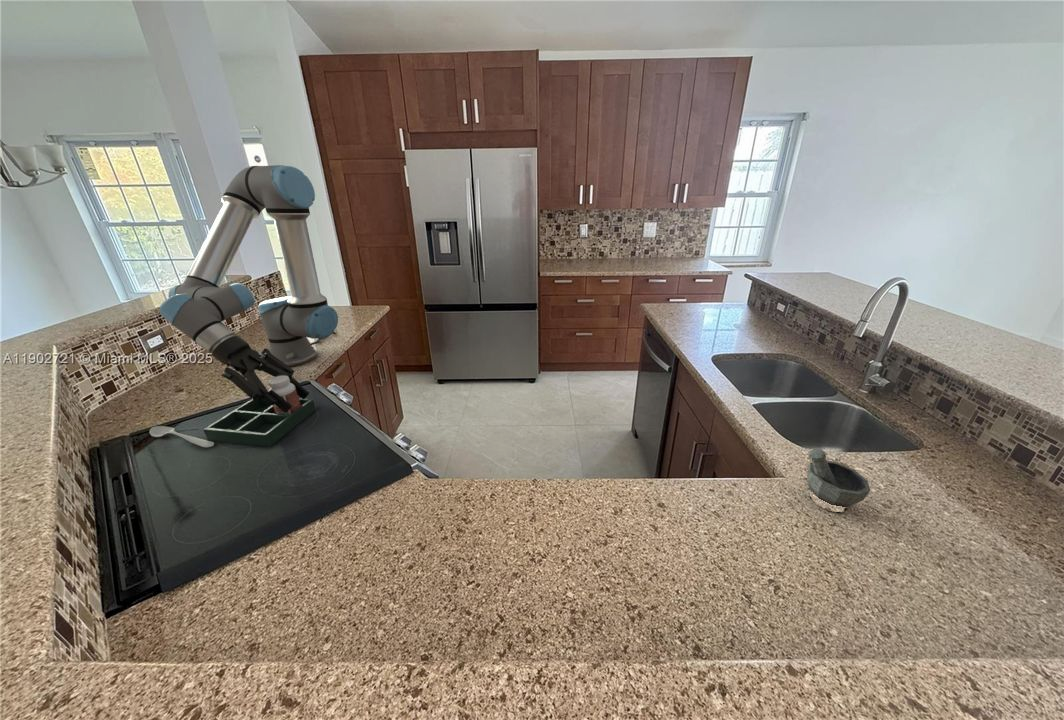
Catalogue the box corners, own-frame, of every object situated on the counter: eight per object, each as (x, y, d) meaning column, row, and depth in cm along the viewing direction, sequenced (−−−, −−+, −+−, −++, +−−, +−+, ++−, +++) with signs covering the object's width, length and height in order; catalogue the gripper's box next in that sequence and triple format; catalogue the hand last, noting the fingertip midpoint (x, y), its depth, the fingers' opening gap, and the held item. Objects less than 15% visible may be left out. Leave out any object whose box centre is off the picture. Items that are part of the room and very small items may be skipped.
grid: (262, 404, 109) (258, 394, 108) (316, 409, 107) (313, 399, 106) (207, 440, 94) (202, 429, 92) (269, 446, 92) (265, 435, 90)
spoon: (163, 427, 99) (161, 422, 98) (221, 441, 94) (219, 435, 93) (145, 436, 95) (142, 431, 94) (204, 451, 90) (201, 445, 89)
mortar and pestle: (843, 489, 79) (864, 444, 74) (867, 524, 71) (892, 476, 66) (784, 480, 82) (801, 436, 77) (801, 512, 74) (821, 465, 69)
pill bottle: (300, 405, 108) (290, 371, 103) (304, 414, 103) (294, 380, 99) (275, 413, 104) (263, 378, 99) (278, 423, 100) (266, 387, 95)
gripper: (248, 340, 107) (314, 393, 111) (183, 369, 89) (264, 430, 94) (259, 323, 104) (326, 378, 109) (194, 350, 86) (277, 414, 91)
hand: (297, 402), depth 101 cm, fingers closed on pill bottle, 6 cm apart
